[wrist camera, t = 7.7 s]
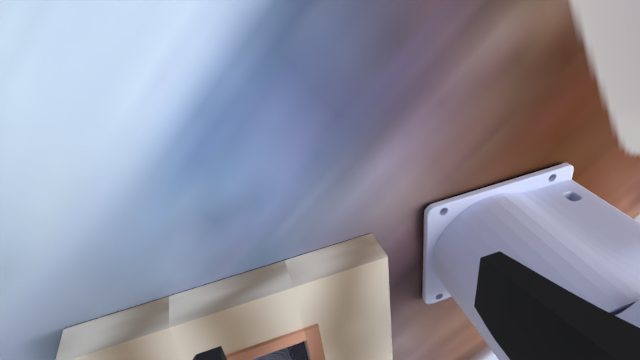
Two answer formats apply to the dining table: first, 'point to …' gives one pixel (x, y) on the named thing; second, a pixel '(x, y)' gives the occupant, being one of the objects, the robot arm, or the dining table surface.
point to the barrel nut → (276, 355)
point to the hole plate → (258, 313)
